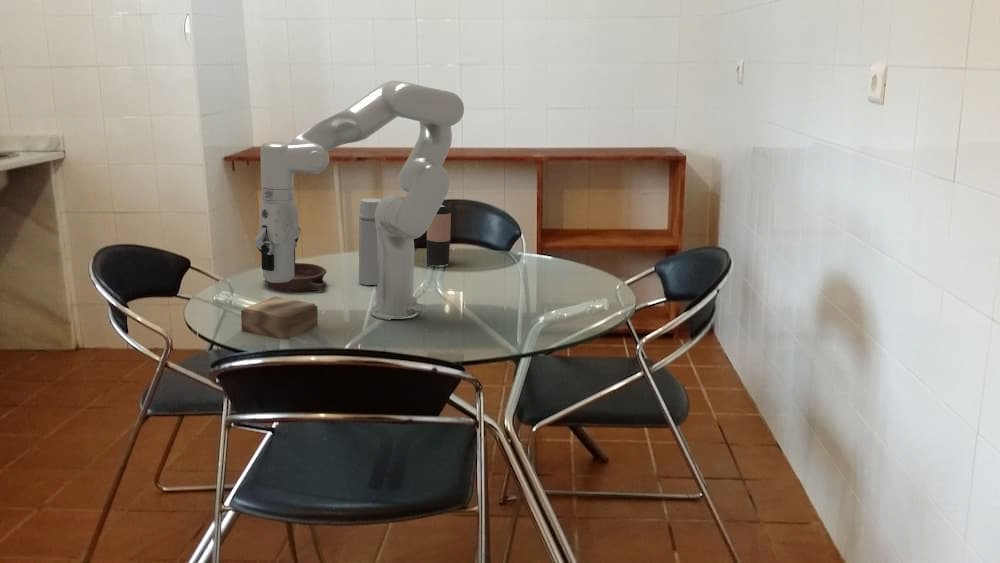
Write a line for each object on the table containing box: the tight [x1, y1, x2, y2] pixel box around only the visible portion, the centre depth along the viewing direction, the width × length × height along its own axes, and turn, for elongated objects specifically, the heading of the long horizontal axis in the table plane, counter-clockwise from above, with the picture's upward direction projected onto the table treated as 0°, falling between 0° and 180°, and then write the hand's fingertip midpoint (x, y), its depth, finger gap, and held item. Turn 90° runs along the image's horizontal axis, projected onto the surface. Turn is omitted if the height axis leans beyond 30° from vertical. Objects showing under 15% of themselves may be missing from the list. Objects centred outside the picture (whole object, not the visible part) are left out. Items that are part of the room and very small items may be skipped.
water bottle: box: [358, 197, 382, 286], centre depth 255 cm, size 9×8×25 cm
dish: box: [266, 262, 327, 292], centre depth 251 cm, size 18×22×5 cm
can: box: [262, 233, 294, 283], centre depth 210 cm, size 8×8×12 cm
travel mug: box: [426, 202, 452, 265], centre depth 280 cm, size 8×8×20 cm
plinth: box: [240, 296, 319, 340], centre depth 214 cm, size 13×13×6 cm
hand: (278, 266), depth 210 cm, fingers closed on can, 7 cm apart
